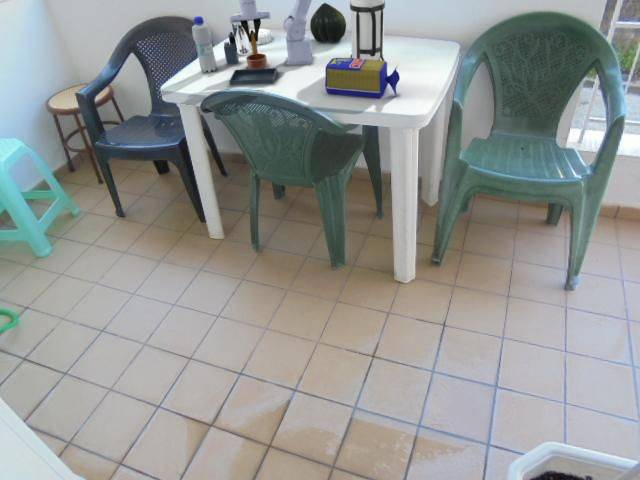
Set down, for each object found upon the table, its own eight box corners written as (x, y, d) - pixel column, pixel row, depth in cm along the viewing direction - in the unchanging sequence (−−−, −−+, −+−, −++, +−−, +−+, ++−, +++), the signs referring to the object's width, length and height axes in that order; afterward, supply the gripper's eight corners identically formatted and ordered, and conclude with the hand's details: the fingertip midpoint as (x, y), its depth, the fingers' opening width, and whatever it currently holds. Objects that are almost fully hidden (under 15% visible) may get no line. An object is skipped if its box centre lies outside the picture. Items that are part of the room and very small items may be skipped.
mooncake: (263, 46, 207) (261, 37, 204) (239, 43, 211) (237, 35, 209) (276, 37, 215) (275, 28, 212) (253, 34, 219) (252, 26, 217)
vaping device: (238, 64, 192) (233, 33, 184) (226, 64, 193) (219, 33, 185) (240, 62, 193) (235, 31, 186) (228, 62, 194) (222, 31, 187)
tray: (277, 73, 183) (276, 68, 182) (273, 84, 175) (273, 79, 174) (235, 75, 184) (234, 69, 183) (230, 86, 176) (229, 81, 175)
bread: (332, 83, 172) (331, 54, 166) (401, 89, 165) (402, 58, 158) (322, 95, 165) (321, 65, 159) (394, 101, 158) (395, 70, 151)
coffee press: (338, 64, 186) (334, -23, 166) (364, 51, 194) (364, -33, 175) (374, 74, 176) (374, -17, 157) (400, 60, 185) (403, -28, 165)
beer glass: (234, 55, 201) (227, 17, 191) (242, 49, 205) (235, 11, 196) (248, 56, 198) (242, 17, 189) (256, 50, 203) (251, 12, 193)
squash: (336, 35, 194) (342, -2, 194) (302, 35, 199) (308, -2, 199) (346, 50, 208) (352, 15, 208) (314, 49, 213) (319, 15, 213)
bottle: (210, 75, 186) (198, 20, 173) (197, 72, 189) (184, 18, 176) (221, 69, 190) (211, 14, 177) (208, 66, 193) (197, 13, 180)
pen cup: (268, 63, 191) (267, 52, 188) (266, 71, 185) (264, 60, 182) (249, 64, 192) (248, 53, 189) (246, 72, 186) (244, 61, 183)
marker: (258, 52, 185) (254, 29, 179) (257, 54, 183) (254, 31, 178) (253, 52, 185) (249, 29, 179) (252, 54, 183) (248, 31, 178)
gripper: (266, -4, 176) (271, 35, 185) (226, 1, 174) (233, 40, 183) (268, 1, 171) (273, 41, 179) (227, 6, 169) (234, 46, 178)
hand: (253, 41), depth 181 cm, fingers closed on marker, 2 cm apart
